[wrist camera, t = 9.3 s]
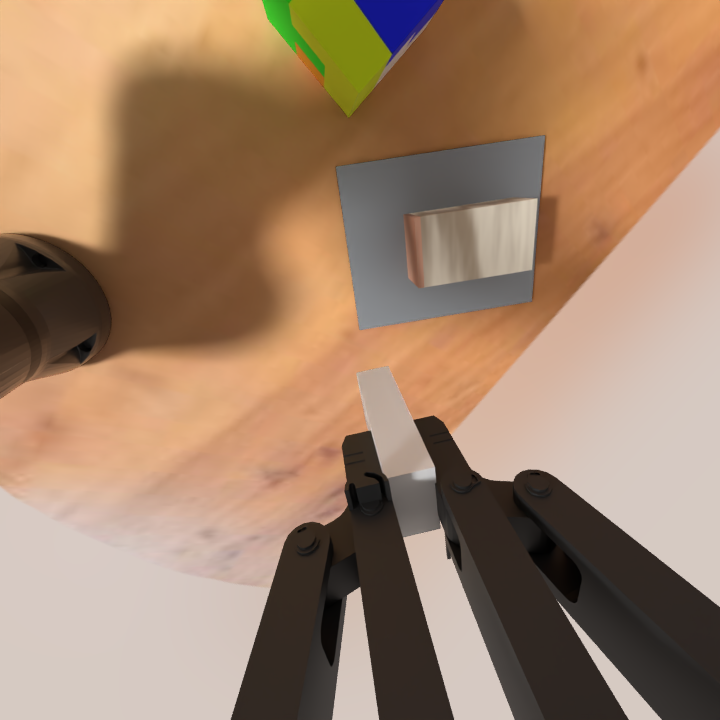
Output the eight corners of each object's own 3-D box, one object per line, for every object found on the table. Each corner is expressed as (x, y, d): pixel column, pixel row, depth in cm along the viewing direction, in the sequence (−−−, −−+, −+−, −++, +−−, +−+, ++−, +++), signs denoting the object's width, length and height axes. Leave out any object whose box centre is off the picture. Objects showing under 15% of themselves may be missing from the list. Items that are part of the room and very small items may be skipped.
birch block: (418, 288, 38) (532, 269, 38) (414, 217, 35) (537, 198, 35) (408, 277, 42) (509, 261, 42) (403, 214, 39) (512, 197, 39)
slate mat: (359, 328, 45) (359, 330, 44) (335, 166, 37) (335, 166, 36) (530, 300, 45) (531, 301, 45) (542, 135, 37) (545, 135, 37)
